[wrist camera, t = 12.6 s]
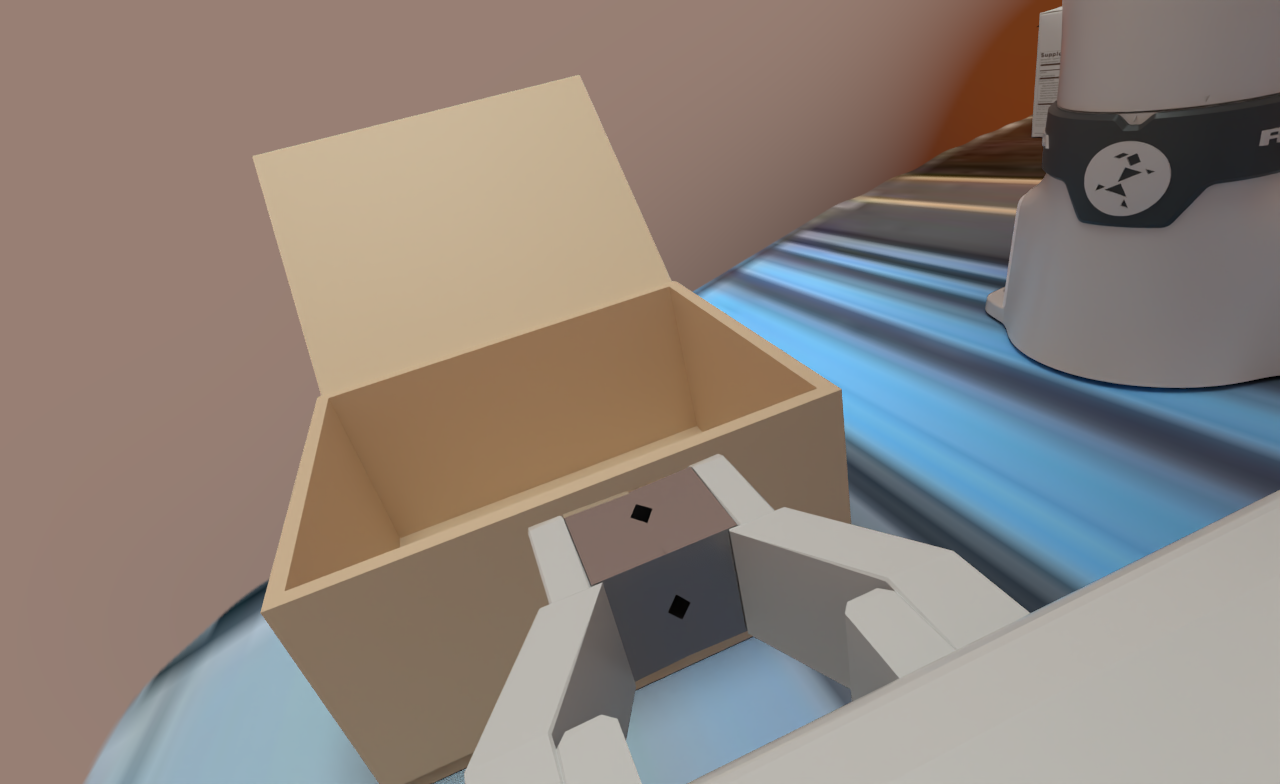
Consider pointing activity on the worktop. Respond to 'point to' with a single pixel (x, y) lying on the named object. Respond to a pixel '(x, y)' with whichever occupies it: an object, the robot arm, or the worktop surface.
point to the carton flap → (453, 229)
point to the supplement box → (1047, 67)
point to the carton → (514, 501)
